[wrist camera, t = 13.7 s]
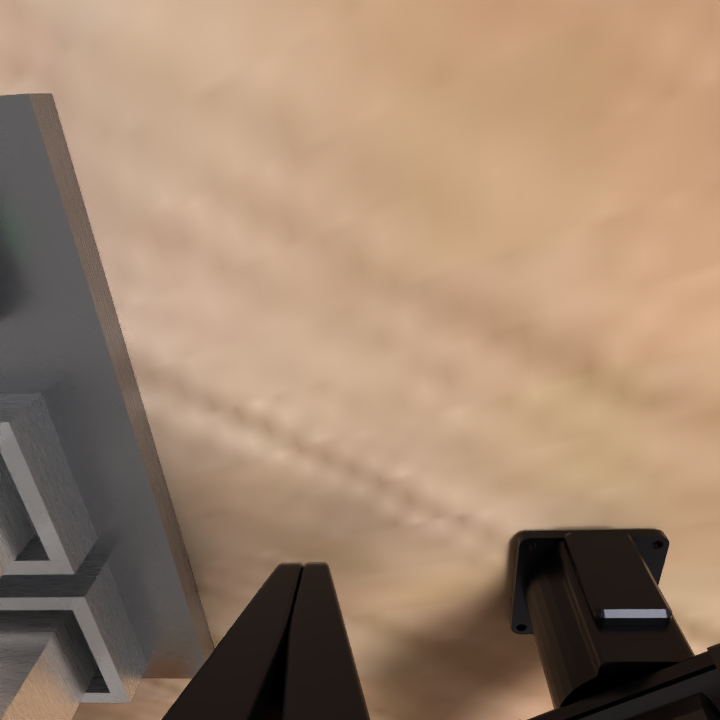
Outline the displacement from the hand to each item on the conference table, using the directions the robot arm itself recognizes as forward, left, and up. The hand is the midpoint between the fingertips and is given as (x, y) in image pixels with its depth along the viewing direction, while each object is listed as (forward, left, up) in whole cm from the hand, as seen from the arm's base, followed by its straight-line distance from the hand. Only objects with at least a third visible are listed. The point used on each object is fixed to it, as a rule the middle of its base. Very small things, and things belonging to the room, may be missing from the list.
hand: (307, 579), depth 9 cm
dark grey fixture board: (-6, +16, -12) cm, 21 cm away
